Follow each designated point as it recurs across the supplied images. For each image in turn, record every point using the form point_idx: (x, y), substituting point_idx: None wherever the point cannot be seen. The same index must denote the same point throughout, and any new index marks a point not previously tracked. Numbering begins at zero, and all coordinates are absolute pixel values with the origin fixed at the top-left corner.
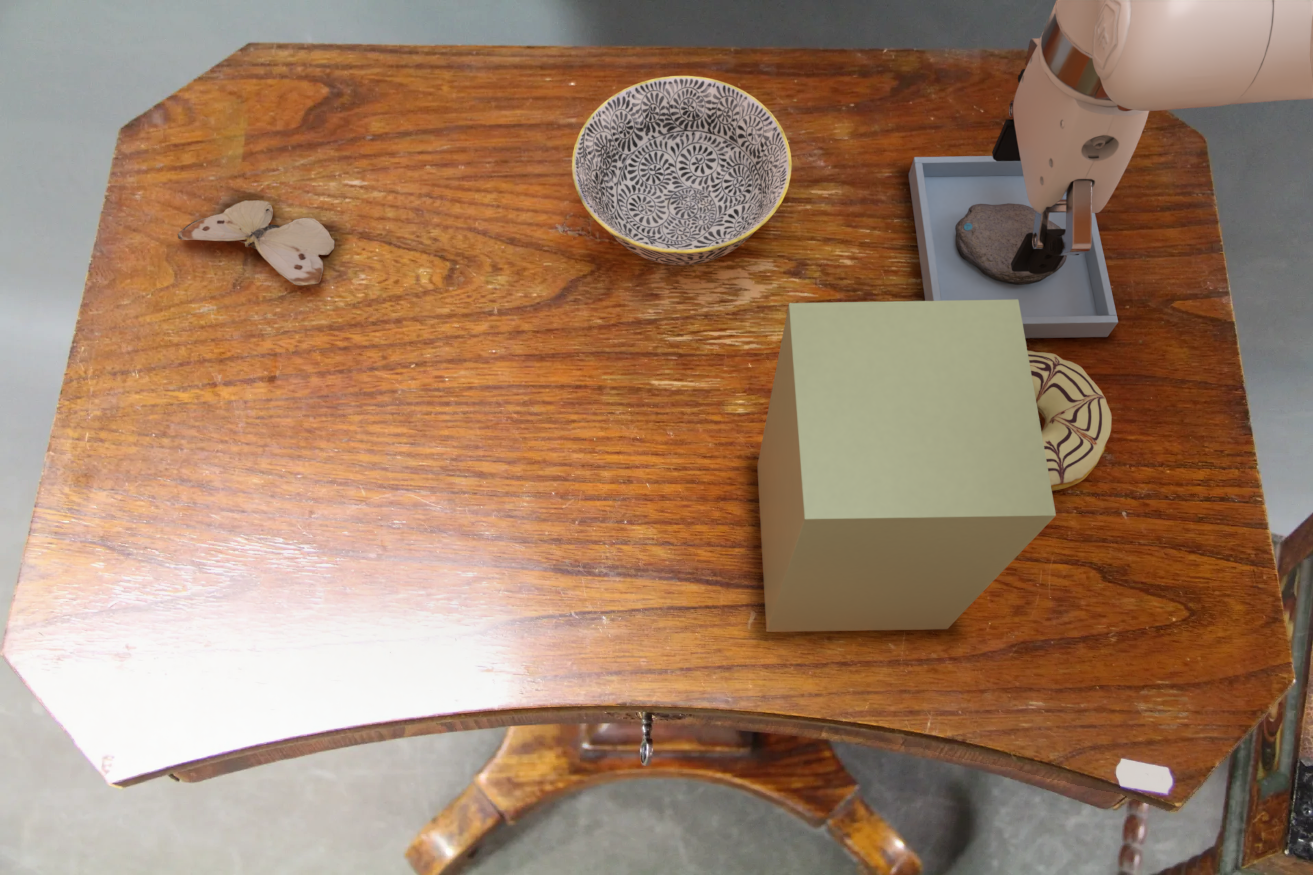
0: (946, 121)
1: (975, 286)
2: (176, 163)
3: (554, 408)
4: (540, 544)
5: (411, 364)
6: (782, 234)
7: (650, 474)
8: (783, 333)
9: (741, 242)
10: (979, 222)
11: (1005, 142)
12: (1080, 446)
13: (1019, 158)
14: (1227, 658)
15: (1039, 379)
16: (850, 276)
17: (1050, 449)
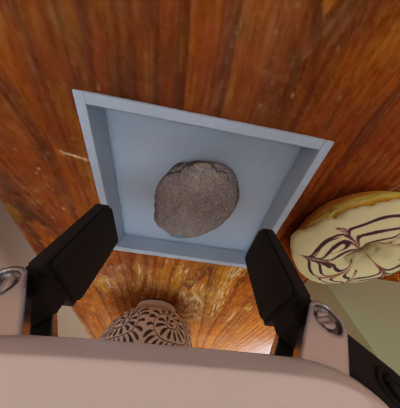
0: (62, 199)
1: (222, 226)
2: None
3: (227, 333)
4: (269, 339)
5: (202, 345)
6: (166, 286)
7: (262, 325)
8: None
9: (186, 340)
10: (176, 231)
11: (98, 268)
12: None
13: (111, 224)
14: None
15: (351, 251)
16: (195, 271)
17: None
